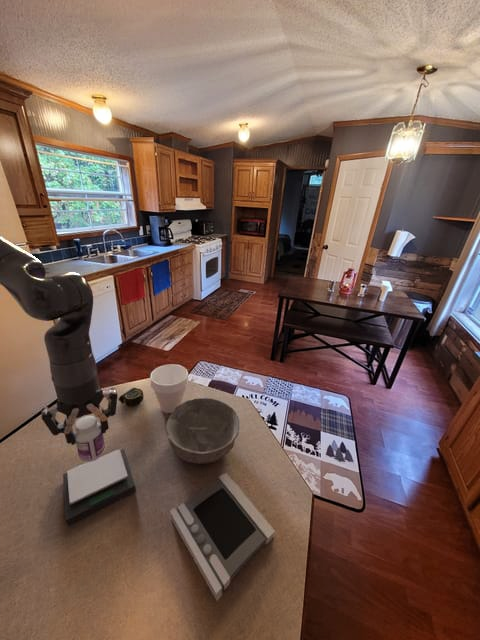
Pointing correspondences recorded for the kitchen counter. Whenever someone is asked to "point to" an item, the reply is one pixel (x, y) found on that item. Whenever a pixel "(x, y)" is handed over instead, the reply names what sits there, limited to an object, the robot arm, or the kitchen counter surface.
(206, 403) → the bowl
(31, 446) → the kitchen counter surface
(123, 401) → the tape measure
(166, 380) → the cup
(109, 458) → the scale
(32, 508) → the kitchen counter surface
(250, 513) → the alarm clock
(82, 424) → the pill bottle
